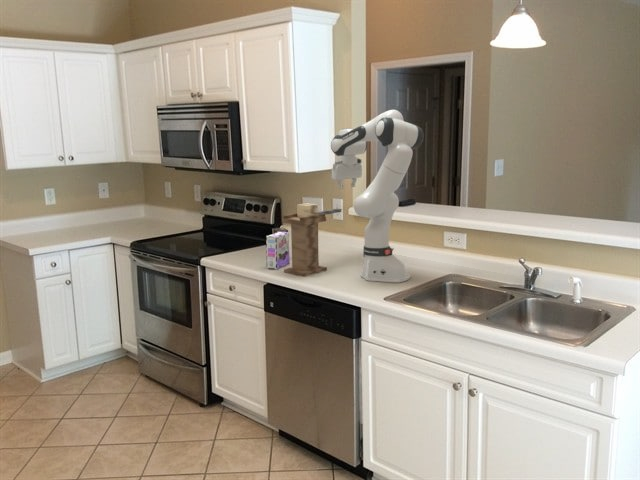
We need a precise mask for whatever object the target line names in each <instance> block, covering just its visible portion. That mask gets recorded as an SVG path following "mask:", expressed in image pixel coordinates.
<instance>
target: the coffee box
mask: <svg viewBox="0 0 640 480" xmlns="http://www.w3.org/2000/svg"><path fill="white" fill-rule="evenodd" d="M271 230H272V234H275V233H278V232H289V230H288V229H287V228H284V227H276V228H275V227H274V228H272V229H271Z"/></svg>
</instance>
